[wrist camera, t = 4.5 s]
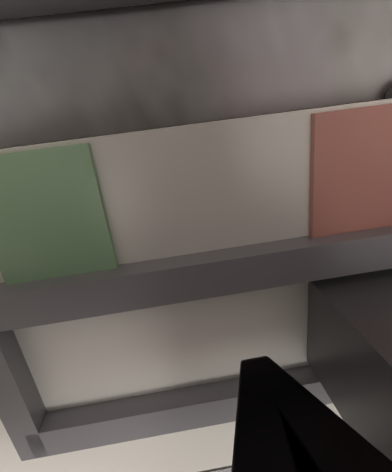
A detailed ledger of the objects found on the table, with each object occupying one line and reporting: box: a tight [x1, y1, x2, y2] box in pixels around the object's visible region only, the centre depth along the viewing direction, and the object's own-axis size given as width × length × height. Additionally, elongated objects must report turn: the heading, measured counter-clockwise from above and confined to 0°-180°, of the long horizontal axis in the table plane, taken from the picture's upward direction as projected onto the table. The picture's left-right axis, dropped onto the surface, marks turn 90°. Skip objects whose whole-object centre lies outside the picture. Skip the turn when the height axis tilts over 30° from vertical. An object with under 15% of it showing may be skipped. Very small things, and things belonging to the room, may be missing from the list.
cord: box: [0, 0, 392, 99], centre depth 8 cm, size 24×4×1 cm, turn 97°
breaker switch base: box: [0, 98, 392, 472], centre depth 10 cm, size 19×12×3 cm, turn 97°
